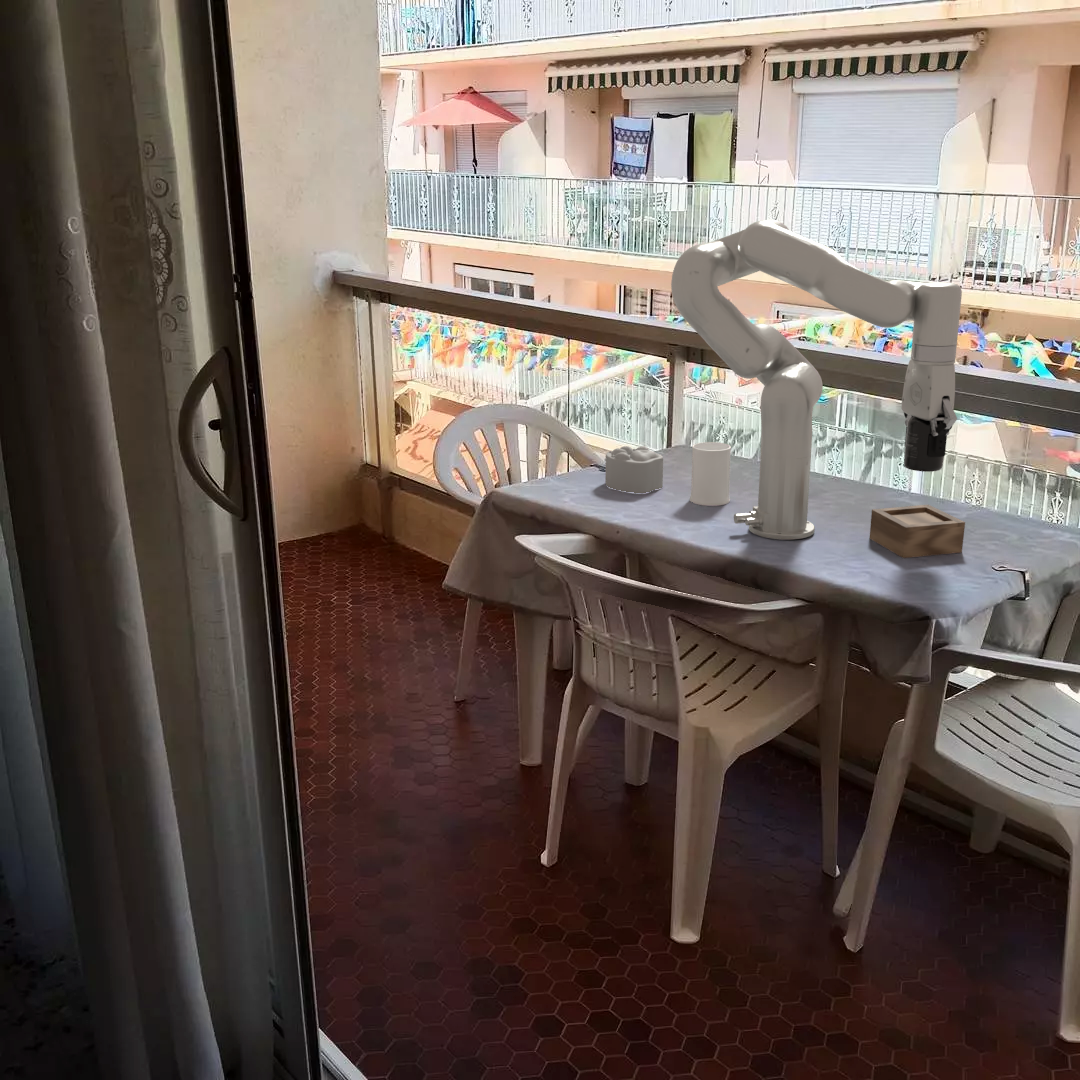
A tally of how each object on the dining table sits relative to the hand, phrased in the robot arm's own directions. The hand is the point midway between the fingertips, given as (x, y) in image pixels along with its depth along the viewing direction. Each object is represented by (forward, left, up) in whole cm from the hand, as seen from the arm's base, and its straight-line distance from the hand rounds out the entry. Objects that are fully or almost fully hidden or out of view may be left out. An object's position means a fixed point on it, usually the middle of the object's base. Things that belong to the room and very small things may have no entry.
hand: (924, 451), depth 203 cm
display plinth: (0, 0, -18) cm, 18 cm away
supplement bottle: (0, 0, -3) cm, 3 cm away
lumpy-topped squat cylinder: (-38, +55, -18) cm, 69 cm away
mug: (-24, +40, -18) cm, 50 cm away
